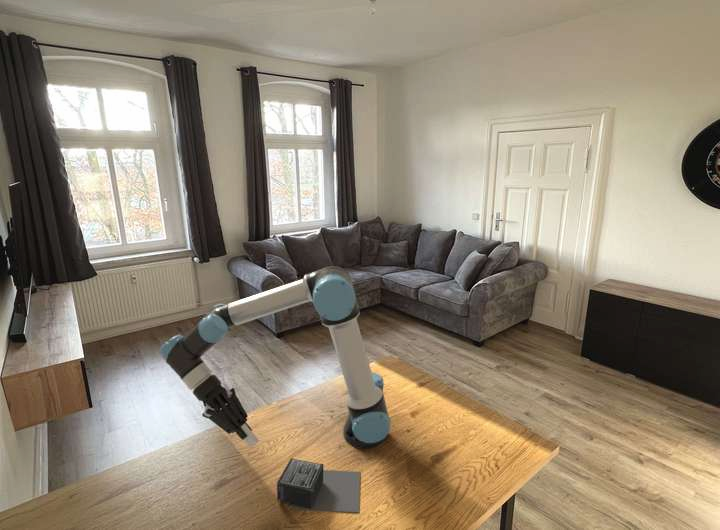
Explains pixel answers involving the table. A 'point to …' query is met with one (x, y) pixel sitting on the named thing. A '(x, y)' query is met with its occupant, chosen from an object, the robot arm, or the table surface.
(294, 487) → the small box
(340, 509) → the mat
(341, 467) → the table surface
